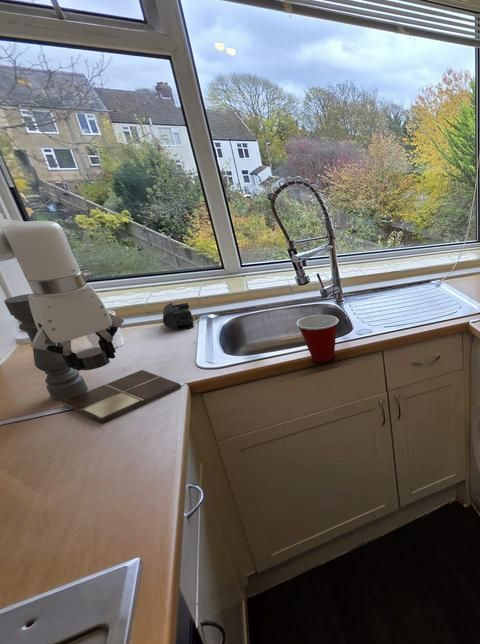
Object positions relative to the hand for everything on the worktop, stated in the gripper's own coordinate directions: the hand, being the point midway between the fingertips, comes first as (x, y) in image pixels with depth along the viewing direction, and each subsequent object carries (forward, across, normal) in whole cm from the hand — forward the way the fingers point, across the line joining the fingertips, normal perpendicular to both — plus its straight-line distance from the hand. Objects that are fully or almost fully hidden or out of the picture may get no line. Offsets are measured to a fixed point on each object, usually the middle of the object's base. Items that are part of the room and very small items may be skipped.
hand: (93, 362), depth 89 cm
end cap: (+13, -35, -36) cm, 52 cm away
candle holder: (+13, +1, -17) cm, 21 cm away
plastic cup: (+13, -39, +24) cm, 47 cm away
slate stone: (+1, 0, 0) cm, 1 cm away
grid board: (+13, -4, -4) cm, 14 cm away
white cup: (+13, -17, -39) cm, 45 cm away
